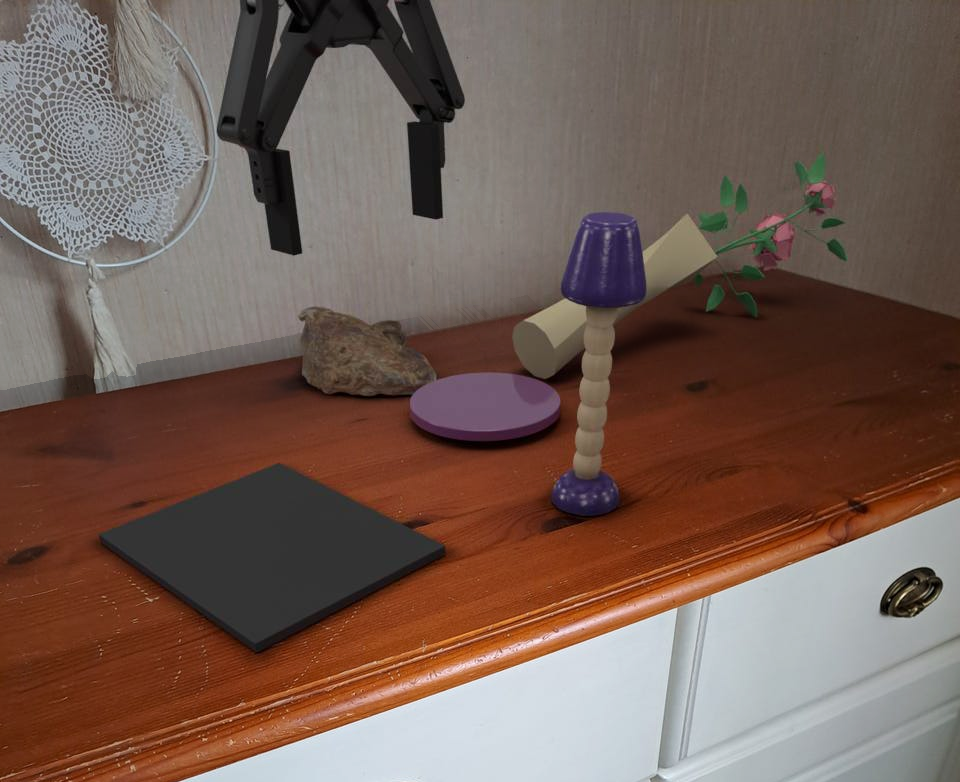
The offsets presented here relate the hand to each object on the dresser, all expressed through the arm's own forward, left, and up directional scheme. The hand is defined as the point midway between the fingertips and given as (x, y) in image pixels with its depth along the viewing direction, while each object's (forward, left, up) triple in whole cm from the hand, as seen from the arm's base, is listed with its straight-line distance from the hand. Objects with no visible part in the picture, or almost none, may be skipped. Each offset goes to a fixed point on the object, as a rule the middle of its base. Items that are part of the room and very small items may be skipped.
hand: (361, 233), depth 72 cm
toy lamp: (+27, -5, -11) cm, 29 cm away
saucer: (+13, 0, -11) cm, 17 cm away
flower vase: (+12, +25, -11) cm, 30 cm away
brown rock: (0, 0, -11) cm, 11 cm away
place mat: (+17, -22, -11) cm, 30 cm away
